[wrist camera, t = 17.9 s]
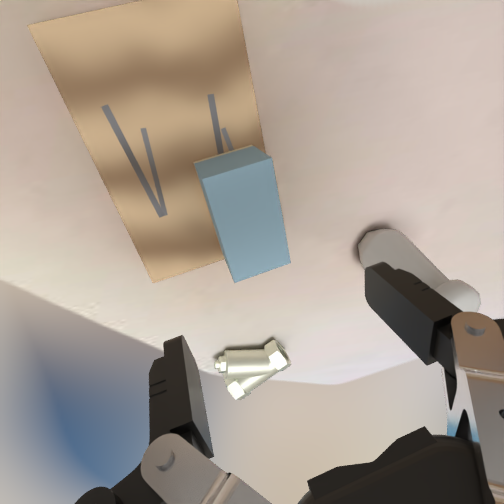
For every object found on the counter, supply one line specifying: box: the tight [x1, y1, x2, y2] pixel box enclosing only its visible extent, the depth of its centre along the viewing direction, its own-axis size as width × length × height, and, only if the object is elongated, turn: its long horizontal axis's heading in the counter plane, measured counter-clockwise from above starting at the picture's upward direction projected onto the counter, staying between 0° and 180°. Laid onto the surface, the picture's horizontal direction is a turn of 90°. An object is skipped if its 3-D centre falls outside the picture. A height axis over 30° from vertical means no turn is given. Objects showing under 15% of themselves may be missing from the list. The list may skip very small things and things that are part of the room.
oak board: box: [27, 0, 266, 283], centre depth 25 cm, size 20×13×2 cm, turn 13°
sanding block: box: [193, 145, 291, 283], centre depth 25 cm, size 9×5×5 cm, turn 13°
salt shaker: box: [358, 229, 481, 312], centre depth 32 cm, size 6×6×13 cm
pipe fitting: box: [214, 340, 291, 400], centre depth 39 cm, size 8×4×7 cm
